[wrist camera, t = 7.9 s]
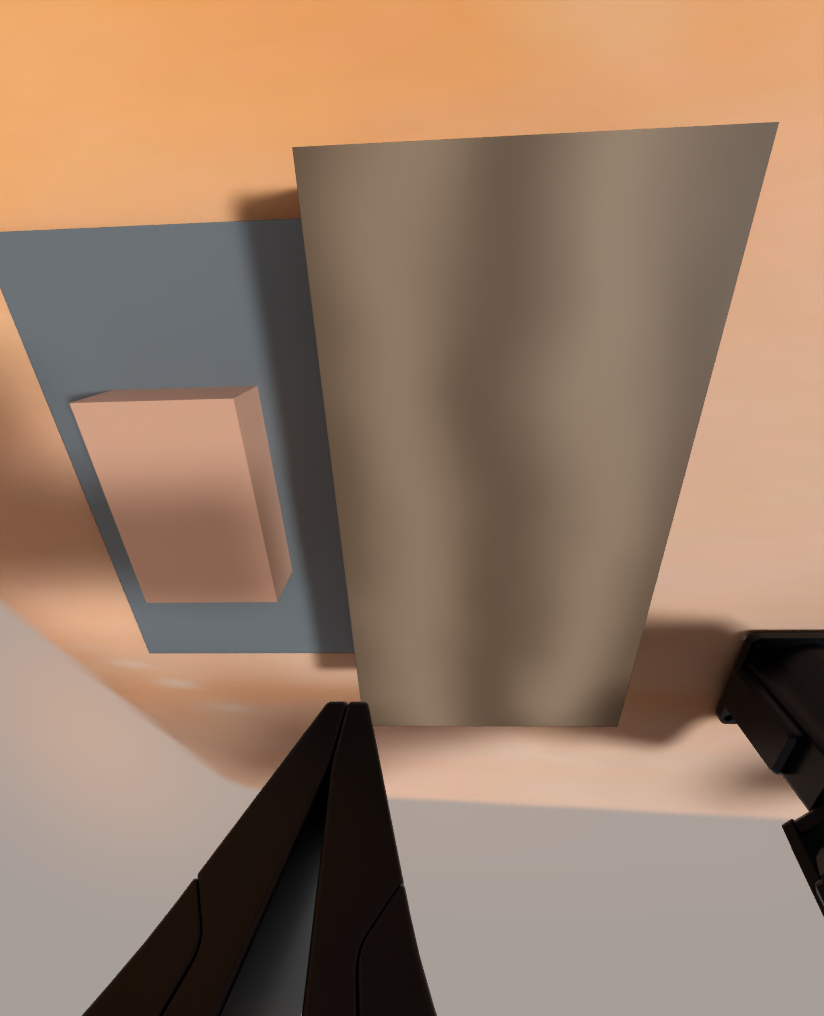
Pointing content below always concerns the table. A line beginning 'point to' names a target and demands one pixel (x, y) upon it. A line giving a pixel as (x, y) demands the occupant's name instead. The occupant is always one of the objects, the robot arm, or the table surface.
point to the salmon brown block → (190, 490)
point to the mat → (185, 364)
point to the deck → (516, 399)
